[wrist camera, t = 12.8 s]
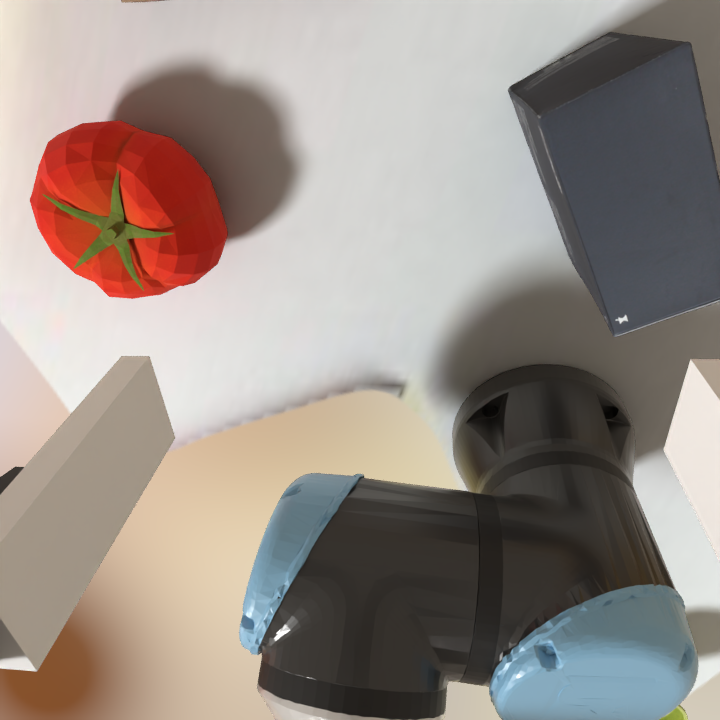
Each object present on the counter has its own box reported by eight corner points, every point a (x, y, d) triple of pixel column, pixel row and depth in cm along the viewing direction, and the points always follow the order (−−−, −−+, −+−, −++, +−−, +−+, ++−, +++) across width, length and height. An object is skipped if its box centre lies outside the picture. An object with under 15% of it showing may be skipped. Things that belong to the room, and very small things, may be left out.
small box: (668, 219, 39) (748, 296, 29) (569, 259, 41) (612, 344, 31) (616, 26, 33) (694, 38, 23) (505, 85, 36) (532, 119, 26)
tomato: (56, 217, 44) (-17, 259, 37) (107, 71, 38) (31, 88, 31) (199, 304, 47) (157, 359, 40) (269, 182, 41) (234, 221, 34)
